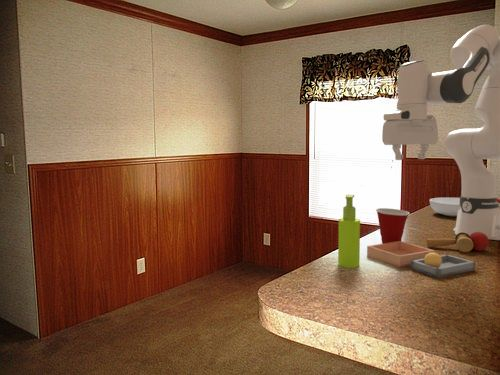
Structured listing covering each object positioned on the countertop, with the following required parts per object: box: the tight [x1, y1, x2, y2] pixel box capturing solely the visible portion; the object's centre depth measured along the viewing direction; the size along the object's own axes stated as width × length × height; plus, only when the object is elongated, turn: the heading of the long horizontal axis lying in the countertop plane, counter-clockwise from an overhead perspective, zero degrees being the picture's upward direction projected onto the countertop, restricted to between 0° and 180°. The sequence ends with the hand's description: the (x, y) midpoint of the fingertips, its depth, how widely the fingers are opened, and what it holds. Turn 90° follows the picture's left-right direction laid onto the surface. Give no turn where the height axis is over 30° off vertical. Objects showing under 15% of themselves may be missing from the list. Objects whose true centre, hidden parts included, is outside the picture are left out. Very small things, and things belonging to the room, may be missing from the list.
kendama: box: [426, 232, 490, 253], centre depth 138 cm, size 8×6×18 cm
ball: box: [424, 252, 442, 268], centre depth 115 cm, size 4×4×4 cm
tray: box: [410, 253, 476, 279], centre depth 117 cm, size 14×9×2 cm, turn 116°
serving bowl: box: [429, 197, 461, 218], centre depth 199 cm, size 21×21×7 cm
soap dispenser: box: [337, 194, 361, 269], centre depth 122 cm, size 6×7×20 cm
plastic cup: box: [375, 207, 411, 244], centre depth 144 cm, size 11×11×12 cm
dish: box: [366, 240, 436, 268], centre depth 128 cm, size 13×13×3 cm
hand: (410, 159), depth 134 cm, fingers open, 8 cm apart
